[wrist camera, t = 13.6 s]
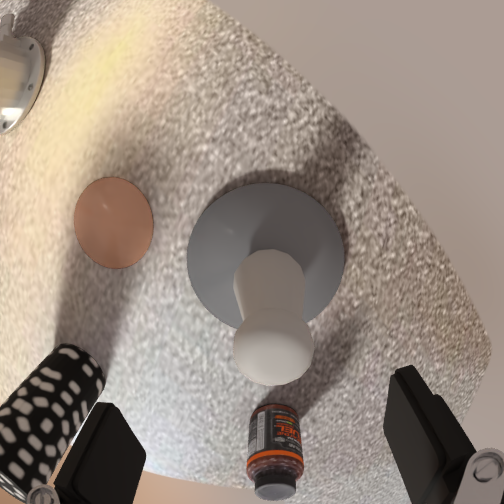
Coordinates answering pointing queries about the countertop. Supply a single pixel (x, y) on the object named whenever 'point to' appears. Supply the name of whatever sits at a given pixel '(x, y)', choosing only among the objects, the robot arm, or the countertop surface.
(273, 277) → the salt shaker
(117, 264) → the terracotta spot
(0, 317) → the countertop surface
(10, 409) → the spotted tube
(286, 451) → the supplement bottle
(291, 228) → the slate plate
